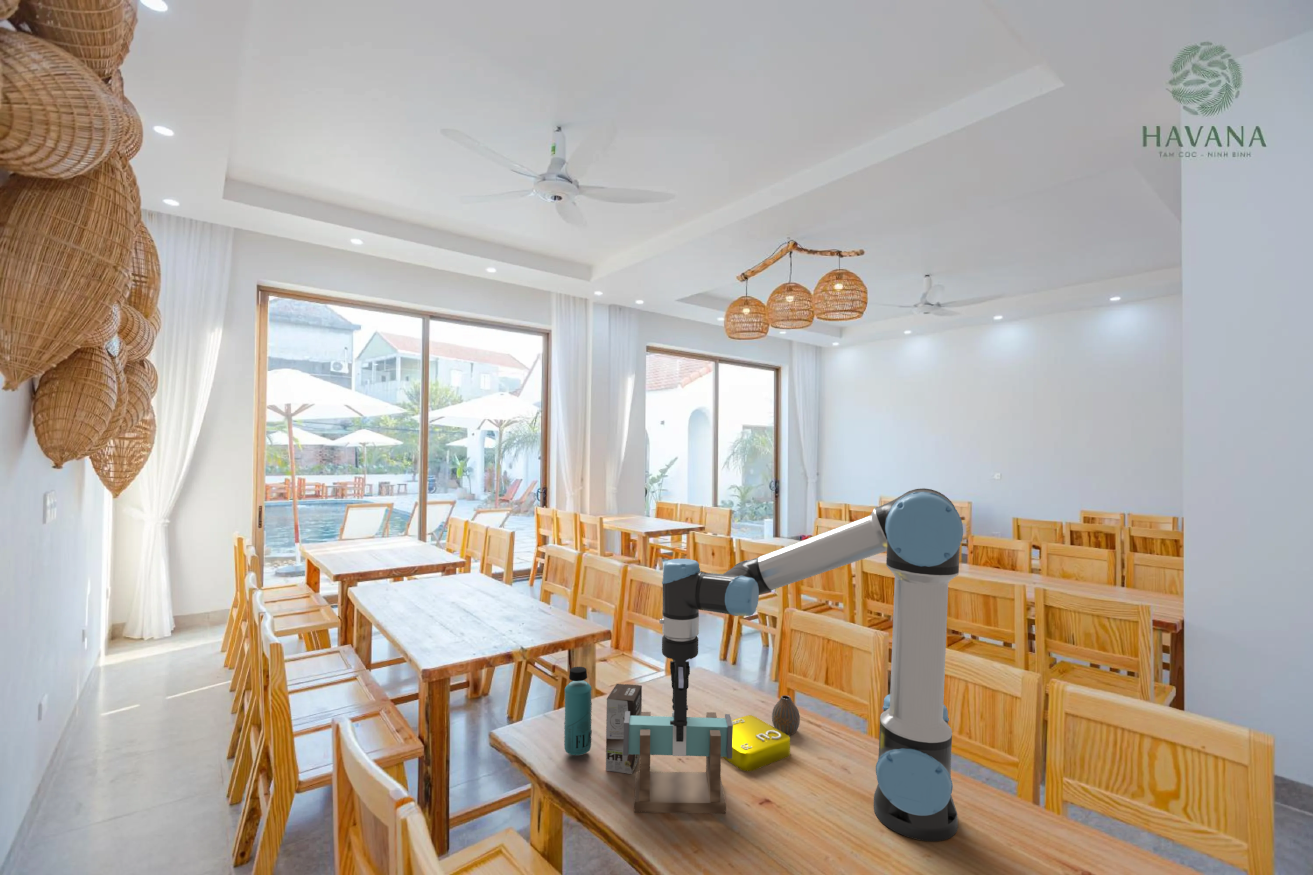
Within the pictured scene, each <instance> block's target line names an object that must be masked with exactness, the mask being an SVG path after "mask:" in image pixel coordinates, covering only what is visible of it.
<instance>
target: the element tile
mask: <svg viewBox="0 0 1313 875" xmlns="http://www.w3.org/2000/svg"><path fill="white" fill-rule="evenodd" d="M731 721H732V724H733V741H732V759H728V758H727V757H722V758H723V759H725V760H726V761H727V762H728V763H730V764H732V765H733V766H734V767H736V768H738V769H739V770H740V771H743V772H753V771H755V770H758V769H761V768H763V767H766V766H769V765H771V764H774V763H775V762H778V761H781V760H784V759H786V758H788V757H790V755H791V737H790V735H789V736H788V735H787V734H785V733H783V732H781V731H780V730H778V729H776V728H774V726H773V725H770V724H769V723H767V722H766V721H764V720H762V719H761V718H758V717H757V716H755V715H752V714H748V715H744V716H741V717H738V718H735V719H731Z"/></svg>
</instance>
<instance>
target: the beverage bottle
mask: <svg viewBox="0 0 1313 875" xmlns="http://www.w3.org/2000/svg"><path fill="white" fill-rule="evenodd" d="M587 678H588V673H587V668H586V667H584V666H574V667H571V668H570V669H569V677H568V679H569V680H571V681H570V682H569V683H568V684H567V685H566V686H565V688H564V723H563V724H564V725H563V726H564V733H563V735H564V737H563V739H564V740H563V741H564V742H563V746H564V747H563V748H564V752H566V754H568V755H571V756H582V755H585V754H587V753H588V752H589V751H590V750H591V748H592V742H593V741H592V739H593V738H592V736H593V734H592V732H593V730H592V709H593V702H592V685H591V684H590V683H589V682H587V681H585V680H587Z"/></svg>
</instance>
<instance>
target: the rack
mask: <svg viewBox="0 0 1313 875" xmlns="http://www.w3.org/2000/svg"><path fill="white" fill-rule="evenodd" d="M641 716H652V714H651V711H642V712H641ZM717 716H718V715H717V712H711V711H710V712H706V716H705V718H718V717H717ZM721 759H722V757H721V734H720V730H710V756H705V771H699V772H698V771H651V755H650V730H642V729H640V757H639V771H635V772H636V773H635V785H634V798H633V799H634V802H633V806H634V807H633V813H645V814H646V813H648V814H649V813H654V814H655V813H656V814H659V813H661V814H664V813H665V814H668V813H669V814H670V813H671V814H672V813H673V814H726V811H727V810H726V807H727V806H726V798H725V797H726V796H725V793H724V792H725V791H724V788H723V781H722V775H721V773H722V771H721V770H722V768H721V767H722V766H721V763H722V761H721Z"/></svg>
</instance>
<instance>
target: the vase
mask: <svg viewBox="0 0 1313 875" xmlns="http://www.w3.org/2000/svg"><path fill="white" fill-rule="evenodd" d="M793 701H794V700H792V697H791V696H789V695H781V696H780V699H779V700H778V701H777V702H776V703H775V705H774V706H773V709H772V713H771V721H772V722H771V723H772V726H773V727H774V728H776V729H778V730H780V731H781V732H783V733H785V734H787V735H788V736H789V737H790V736H792V735H794V734H796V733H797V731H798V730H799V727H800V724H801V717H800V712H799V709H798V707H797V706H796V704H795V703H794V702H793Z"/></svg>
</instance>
